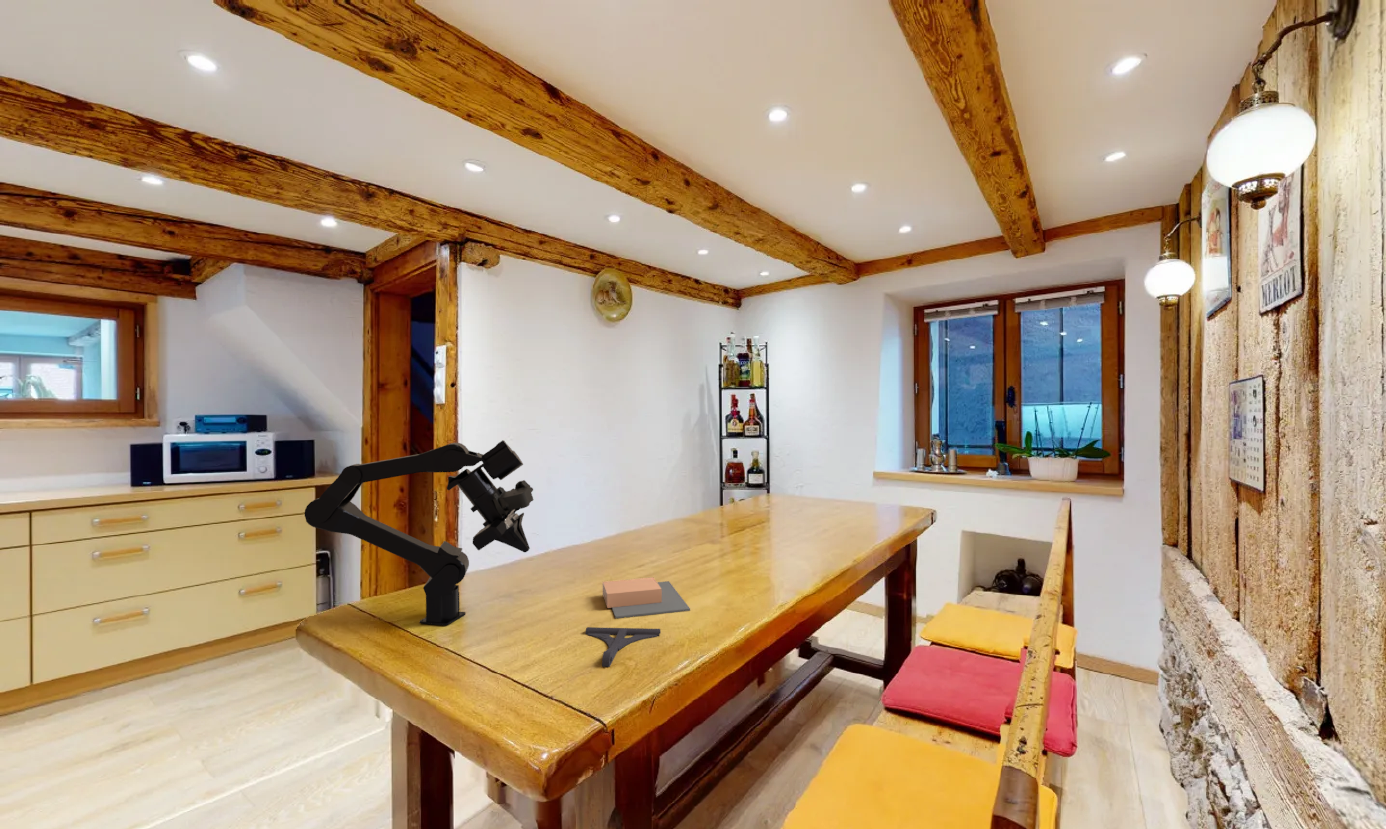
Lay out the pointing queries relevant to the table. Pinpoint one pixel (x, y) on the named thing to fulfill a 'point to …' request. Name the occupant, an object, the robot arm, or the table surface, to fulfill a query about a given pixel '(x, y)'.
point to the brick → (631, 592)
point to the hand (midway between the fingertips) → (527, 550)
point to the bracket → (619, 639)
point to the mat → (655, 604)
